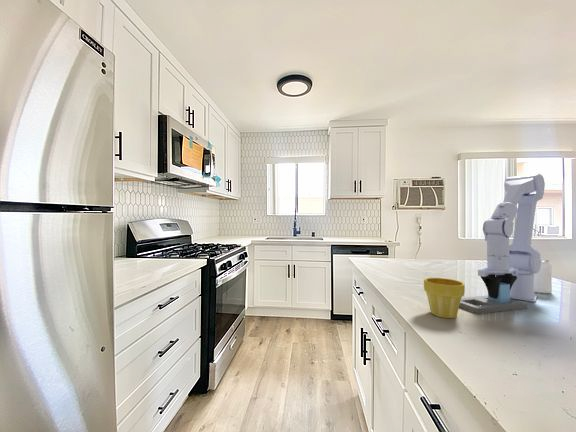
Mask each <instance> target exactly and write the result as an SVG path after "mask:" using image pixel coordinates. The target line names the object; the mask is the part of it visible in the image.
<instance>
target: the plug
mask: <svg viewBox="0 0 576 432" xmlns="http://www.w3.org/2000/svg"><path fill="white" fill-rule="evenodd" d="M487 295H488V300H491V301H495V302H498V303H509V302H510V299H511V298H510V284H506V283H502V282H500V285H499V289H498V297H497V299H495V298H491V297H490V296H489V293H488V292H487Z"/></svg>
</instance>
